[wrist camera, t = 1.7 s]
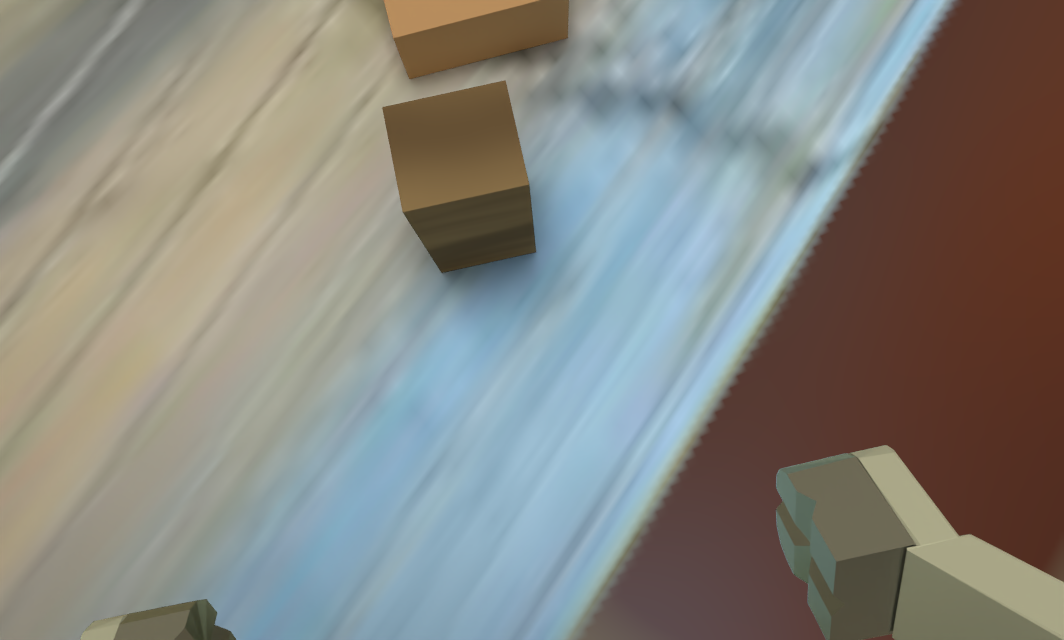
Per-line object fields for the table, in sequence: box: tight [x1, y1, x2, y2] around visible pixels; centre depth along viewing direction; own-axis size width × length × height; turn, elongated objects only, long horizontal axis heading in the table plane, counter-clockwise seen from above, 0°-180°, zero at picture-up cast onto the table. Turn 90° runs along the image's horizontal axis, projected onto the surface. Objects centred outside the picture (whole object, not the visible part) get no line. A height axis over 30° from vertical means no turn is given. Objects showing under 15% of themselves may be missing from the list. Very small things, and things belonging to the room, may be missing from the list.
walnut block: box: [382, 81, 536, 273], centre depth 31 cm, size 4×4×9 cm
